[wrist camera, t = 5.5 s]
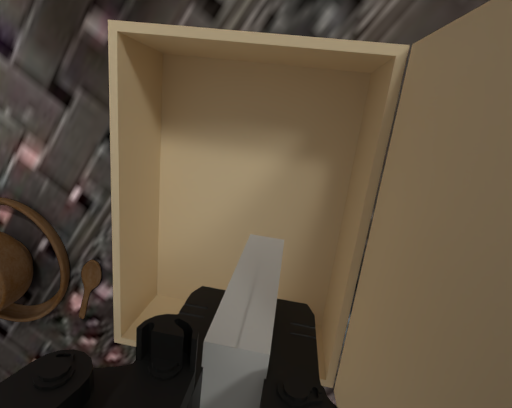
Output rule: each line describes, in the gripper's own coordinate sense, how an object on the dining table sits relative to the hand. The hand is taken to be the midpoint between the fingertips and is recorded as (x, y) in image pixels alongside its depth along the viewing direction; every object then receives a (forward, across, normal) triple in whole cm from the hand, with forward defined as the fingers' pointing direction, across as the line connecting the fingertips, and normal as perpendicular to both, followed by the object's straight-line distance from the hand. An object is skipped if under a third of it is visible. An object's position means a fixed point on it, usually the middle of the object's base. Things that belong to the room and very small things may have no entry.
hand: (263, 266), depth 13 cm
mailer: (+11, -2, 0) cm, 11 cm away
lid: (+4, +5, 0) cm, 7 cm away
